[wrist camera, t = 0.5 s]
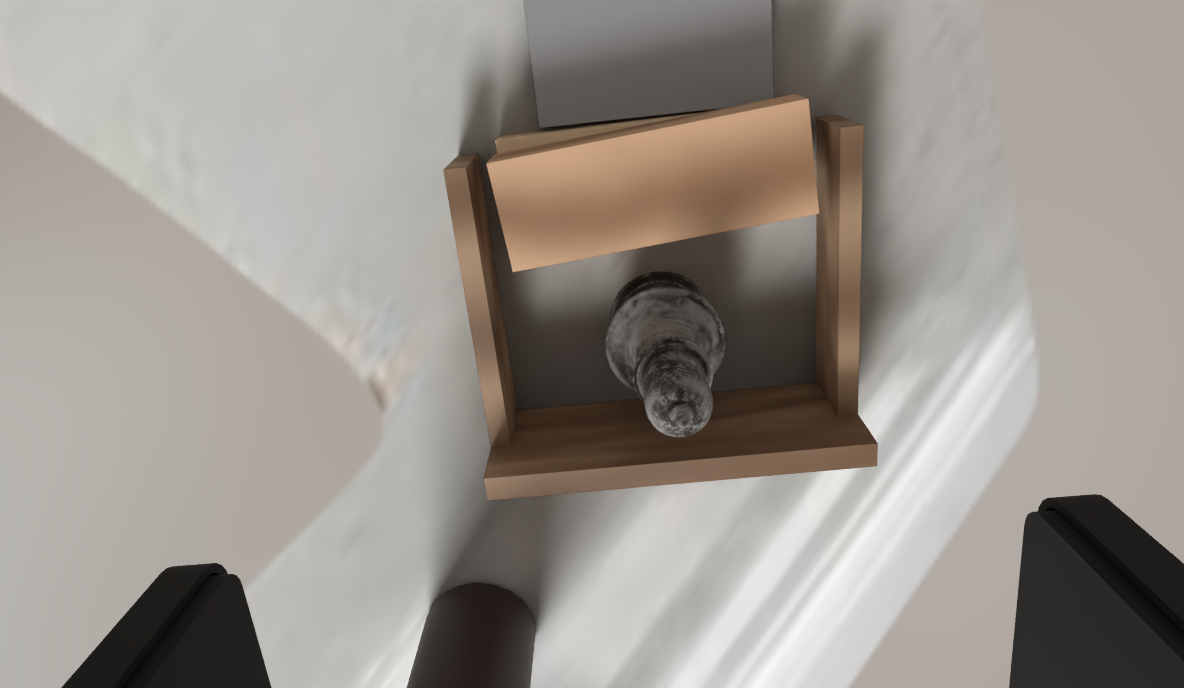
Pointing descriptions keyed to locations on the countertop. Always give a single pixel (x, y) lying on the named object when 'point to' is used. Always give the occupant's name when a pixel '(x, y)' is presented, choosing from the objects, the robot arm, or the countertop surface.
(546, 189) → the upper offcut
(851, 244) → the rack
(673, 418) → the grey stone finial
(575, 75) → the mat
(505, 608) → the bottle
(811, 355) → the countertop surface
